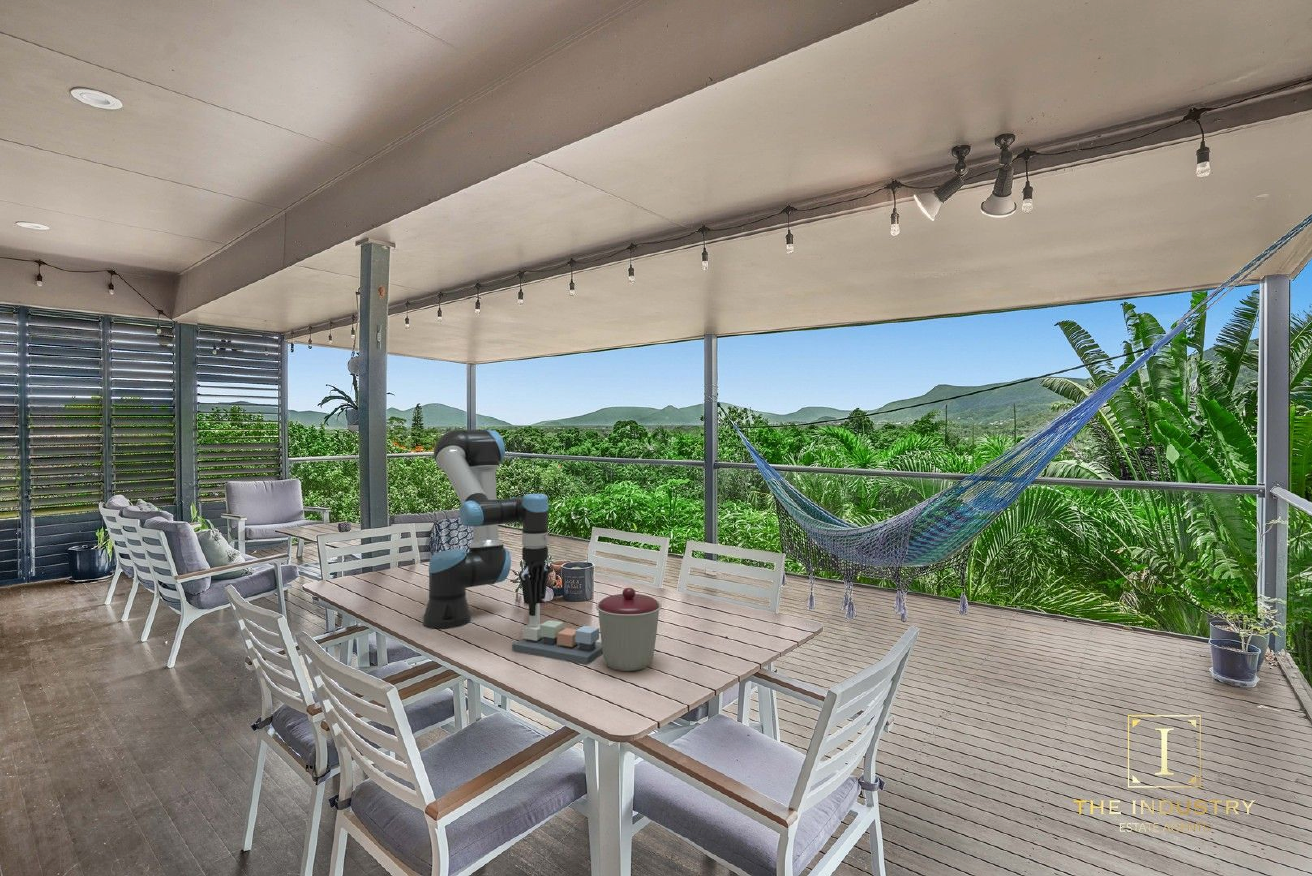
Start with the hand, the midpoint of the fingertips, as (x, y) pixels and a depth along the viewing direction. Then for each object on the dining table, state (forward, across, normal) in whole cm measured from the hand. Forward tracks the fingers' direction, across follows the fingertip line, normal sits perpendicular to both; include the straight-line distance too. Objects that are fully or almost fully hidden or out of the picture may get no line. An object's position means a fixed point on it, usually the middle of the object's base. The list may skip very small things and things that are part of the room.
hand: (534, 625), depth 177 cm
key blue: (+2, 0, -18) cm, 18 cm away
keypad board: (+6, 0, -9) cm, 11 cm away
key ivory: (+3, 0, 0) cm, 3 cm away
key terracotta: (+4, 0, -12) cm, 12 cm away
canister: (+7, -1, -31) cm, 32 cm away
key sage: (+2, 0, -6) cm, 6 cm away
